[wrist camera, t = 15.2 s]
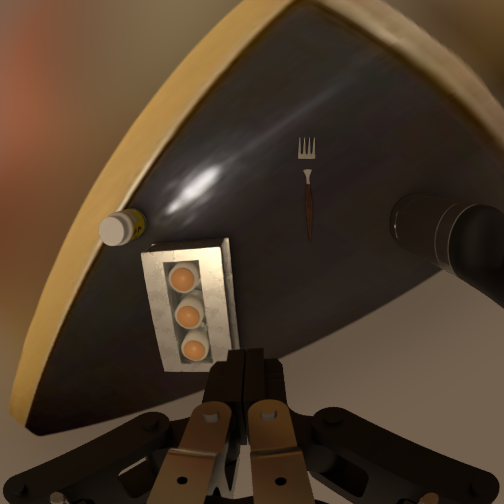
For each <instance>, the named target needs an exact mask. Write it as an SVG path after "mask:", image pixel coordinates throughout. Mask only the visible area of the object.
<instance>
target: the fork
mask: <svg viewBox="0 0 504 504" xmlns="http://www.w3.org/2000/svg"><path fill="white" fill-rule="evenodd" d="M298 158H299V159H315V137H314V143H313V152H312V154H311V153H310V137H309V145H308V154H306V151H305V138H304V147H303V154H301V146H300V137H299V151H298ZM303 171H304V173H305V175H306V178H307V183H306V197H305V211H306V218H307V226H308V235H309V244H311V230H312V216H313V203H312V195H311V189H310V182H309V176H310V173H311V171H312V170H310V169H307V170H303Z"/></svg>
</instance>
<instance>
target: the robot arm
mask: <svg viewBox="0 0 504 504" xmlns="http://www.w3.org/2000/svg"><path fill="white" fill-rule="evenodd" d="M390 228H391V233H392V236H393V238H394V240H395V241H396V242H397V243H398V244H399V245H400V246H401V247H403V248H405V249H406V250H408V251H410V252H412V253H414V254H416V255H418V256H420V257H421V258H423V259H425V260H427V261H429V262H431V263H433V264H434V265H436V266H438V267H440V268H442V269H443V270H445V271H447V272H449V273H451V274H453V275H455V276H456V277H458V278H460V279H461V280H463V281H465V282H466V283H468V284H469V285H471V286H472V287H474V288H476V289H477V290H479V291H480V292H482V293H483V294H485V295H486V296H488V297H489V298H491V299H492V300H493V301H495V302H496V303H497V304H498V305H500V306H501V307H502V308H504V214H503V213H502V212H501V211H500V210H498V209H496V208H494V207H491V206H486V205H480V204H475V203H469V202H462V201H456V200H450V199H444V198H438V197H431V196H425V195H418V194H411V195H407V196H405V197H403V198H402V199H401V200H400V201H398V203H397V204H396V205H395V207H394V209H393V211H392V214H391V218H390ZM247 435H248V442H249V445H250V450H251V453H250V459H251V472H252V484H253V496H249V497H245V498H240V499H233V496H234V490H235V484H236V479H237V473H238V467H239V461H240V459H239V454H240V445H247ZM144 457H145V458H146V460H145V461H144V462H142V463H140V464H139V465H137V466H135V467H133V468H132V469H130V470H128V471H127V472H125V473H123V474H121V475H120V476H118V475H119V473H120V472H121V471H122V470H124V469H125V468H127V467H129V466H130V465H132V464H134V463H136V462H137V461H139V460H140V459H142V458H144ZM307 471H309V472H310V474H311V476H312V477H314V478H315V479H316V480H318V481H319V482H321V483H322V484H324V485H325V486H327V487H328V488H330V489H331V490H333V491H334V492H336V493H337V494H339V495H341V496H342V497H344V498H345V499H347V500H348V501H350V502H352V503H353V504H492V502H493V501H494V500H495V499H496V497H497V496H498V493H499V488H500V487H499V482H498V480H497V478H496V477H495V476H494V475H493V474H491V473H490V472H487V471H484V470H481V469H479V468H476V467H473V466H470V465H468V464H465V463H462V462H460V461H457V460H455V459H452V458H450V457H447V456H445V455H442V454H440V453H437V452H435V451H432V450H430V449H428V448H425V447H423V446H420V445H418V444H416V443H414V442H412V441H409V440H407V439H405V438H403V437H401V436H398V435H396V434H394V433H392V432H390V431H388V430H386V429H384V428H382V427H379V426H377V425H375V424H373V423H371V422H369V421H367V420H365V419H363V418H361V417H359V416H357V415H355V414H353V413H351V412H349V411H347V410H345V409H343V408H339V407H328V408H324V409H321V410H319V411H318V412H316V413H315V415H314V416H306V415H301V414H298V413H295V412H294V411H292V410H291V409H290V408H289V407H288V405H287V400H286V391H285V382H284V374H283V367H282V364H281V363H280V362H279V360H278V359H277V358H273V359H264V348H252V349H247V350H246V349H233V350H228V354H227V360H226V361H216V363H215V364H214V365H213V366H212V367H211V368H210V371H209V375H208V379H207V383H206V388H205V392H204V396H203V400H202V404H200V405H198V406H197V407H196V408H195V409H194V410H193V412H192V414H191V416H190V417H188V418H185V419H180V420H175V421H169V418H168V417H167V416H166V415H164V414H162V413H159V412H147V413H144V414H142V415H139V416H137V417H135V418H134V419H132V420H130V421H128V422H126V423H124V424H123V425H121V426H119V427H117V428H115V429H113V430H111V431H109V432H107V433H106V434H104V435H102V436H100V437H98V438H96V439H94V440H92V441H90V442H88V443H86V444H84V445H82V446H80V447H78V448H76V449H74V450H71V451H69V452H67V453H65V454H63V455H61V456H59V457H57V458H54V459H52V460H50V461H48V462H45V463H43V464H41V465H39V466H36V467H34V468H32V469H29V470H27V471H25V472H22V473H20V474H17V475H15V476H13V477H11V478H9V479H8V480H7V481H6V483H5V484H4V487H3V494H4V497H5V499H6V500H7V501H8V502H9V503H10V504H328V503H326V502H323V501H319V500H315V499H314V496H313V492H312V488H311V484H310V480H309V477H308V473H307Z"/></svg>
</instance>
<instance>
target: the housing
mask: <svg viewBox="0 0 504 504" xmlns="http://www.w3.org/2000/svg"><path fill="white" fill-rule="evenodd" d="M141 257H142V263H143V269H144V275H145V281H146V287H147V292H148V298H149V303H150V308H151V313H152V318H153V323H154V328H155V332H156V337H157V341H158V346H159V350H160V354H161V358H162V362H163V366H164V370H165V371H175V372H209V371H210V368H211V367H212V366H213V365H214V364H215V363H216V361H226V360H227V354H228V350H233V349H240V343H239V333H238V324H237V315H236V305H235V296H234V286H233V276H232V265H231V255H230V244H229V237H222V238H209V239H197V240H184V241H172V242H160V243H153V244H152V246H151V247H149V248H148V249H146V250H145V251H143V252H142V253H141ZM190 260H199V267H200V275H201V278H200V280H199V282H198V283H197V285H196V287H195V288H194V289H195V290H200V291H202V292H203V298H204V305H205V315H204V317H203V320H202V322H204V323H207V326H208V333H209V339H210V346H209V350H208V354H207V356H206V357H205V358H204V359H203V360H200V361H193V360H190V359H188V358H186V357H185V356H184V354H183V353H182V350H181V346H182V343H183V341H184V339H185V336H186V334H187V332H188V330H189V329H187V328H184V327H182V326H181V325H179V323H178V322H177V321H176V318H175V311H176V309H177V307H178V305H179V304H180V302H181V300H182V299H183V297H184V296H185V294H186V293H180V292H178V291H176V290H175V289H173V287H172V286H171V285H170V282H169V273H170V271H171V270H172V269H173V267H174V266H175V265H176V264H177V263H178V262H179V261H190ZM194 289H193V290H194Z"/></svg>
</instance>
